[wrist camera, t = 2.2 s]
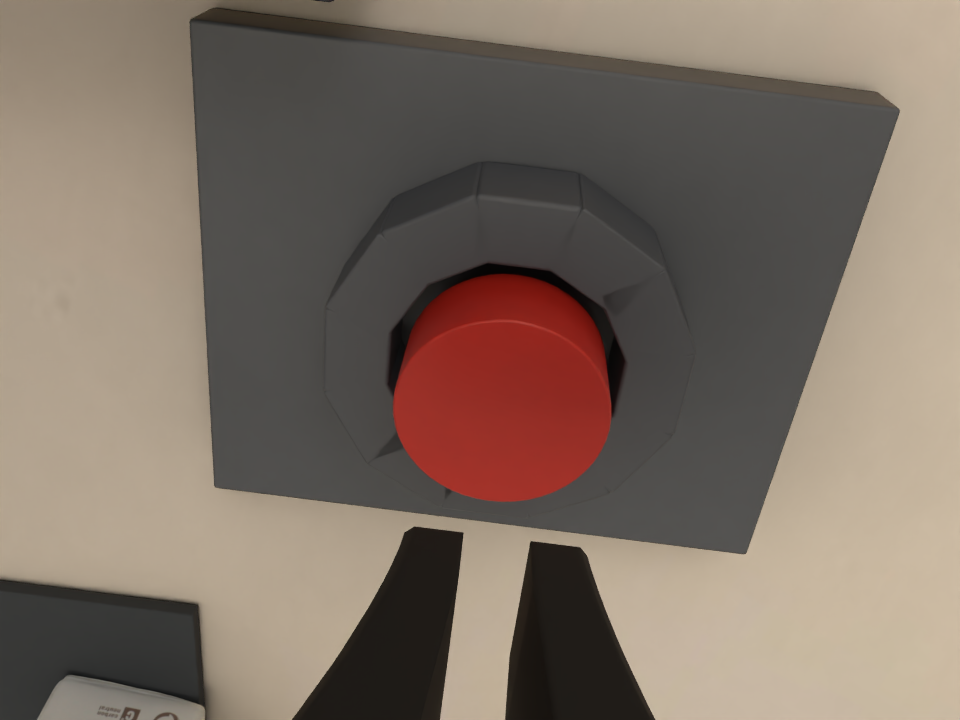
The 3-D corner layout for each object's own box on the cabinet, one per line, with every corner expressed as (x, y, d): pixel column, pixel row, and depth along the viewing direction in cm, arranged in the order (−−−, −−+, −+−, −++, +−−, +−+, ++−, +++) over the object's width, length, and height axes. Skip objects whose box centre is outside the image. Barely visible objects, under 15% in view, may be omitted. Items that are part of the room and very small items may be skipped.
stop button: (399, 432, 17) (386, 489, 16) (413, 259, 15) (399, 306, 14) (587, 455, 17) (591, 514, 16) (622, 286, 15) (631, 335, 14)
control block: (229, 456, 21) (185, 543, 18) (210, 7, 16) (145, 39, 13) (736, 520, 21) (764, 616, 18) (879, 91, 16) (944, 140, 13)
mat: (-97, 789, 29) (-105, 801, 28) (-180, 556, 23) (-191, 567, 23) (214, 828, 29) (210, 840, 28) (198, 604, 23) (192, 615, 23)
